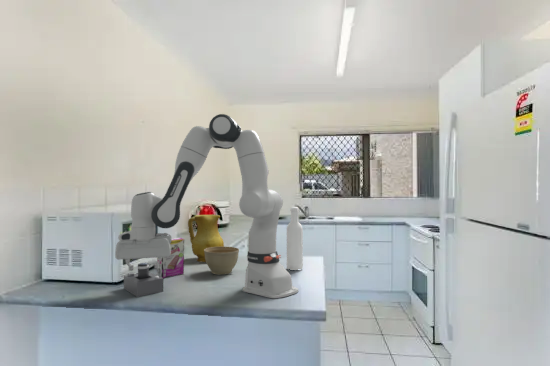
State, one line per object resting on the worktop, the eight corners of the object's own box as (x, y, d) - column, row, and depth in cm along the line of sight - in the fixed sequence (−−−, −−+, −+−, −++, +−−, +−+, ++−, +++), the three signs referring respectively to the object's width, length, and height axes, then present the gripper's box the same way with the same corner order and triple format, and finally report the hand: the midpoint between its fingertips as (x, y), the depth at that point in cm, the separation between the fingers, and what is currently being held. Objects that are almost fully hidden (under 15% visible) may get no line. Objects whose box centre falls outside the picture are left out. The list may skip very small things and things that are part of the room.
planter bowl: (213, 279, 155) (213, 254, 155) (198, 271, 168) (198, 248, 168) (245, 273, 164) (245, 249, 164) (228, 267, 177) (228, 245, 177)
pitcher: (204, 264, 182) (204, 215, 183) (184, 260, 195) (184, 214, 196) (230, 260, 194) (230, 214, 196) (210, 257, 207) (209, 214, 209)
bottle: (305, 268, 174) (305, 207, 174) (298, 271, 167) (298, 207, 167) (290, 266, 178) (290, 206, 178) (283, 269, 171) (283, 207, 171)
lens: (150, 283, 141) (150, 262, 141) (146, 286, 137) (146, 264, 137) (140, 283, 141) (140, 262, 141) (136, 286, 137) (135, 264, 137)
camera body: (163, 291, 137) (163, 275, 137) (137, 296, 130) (137, 280, 130) (148, 283, 147) (148, 269, 147) (123, 288, 140) (123, 273, 140)
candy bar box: (162, 278, 155) (162, 241, 155) (156, 276, 159) (156, 239, 159) (184, 274, 163) (184, 238, 163) (178, 272, 167) (178, 237, 167)
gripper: (171, 231, 144) (172, 266, 143) (117, 233, 139) (118, 269, 139) (170, 233, 137) (171, 269, 137) (113, 236, 133) (114, 273, 133)
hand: (144, 269), depth 138 cm, fingers open, 8 cm apart
